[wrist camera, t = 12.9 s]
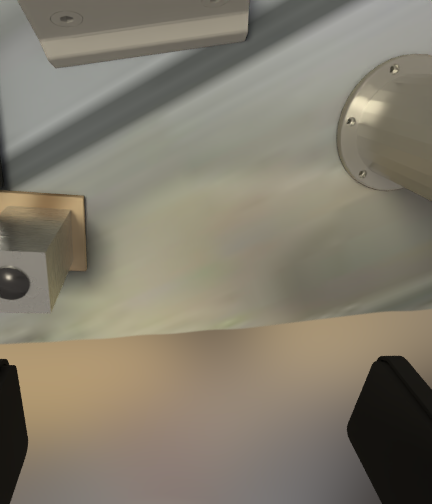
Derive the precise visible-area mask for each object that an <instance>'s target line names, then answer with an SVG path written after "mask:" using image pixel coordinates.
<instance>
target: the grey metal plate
mask: <svg viewBox="0 0 432 504" xmlns="http://www.w3.org/2000/svg"><path fill="white" fill-rule="evenodd" d="M3 186H4V181H3V173H2V166H1V159H0V188H1V187H3Z"/></svg>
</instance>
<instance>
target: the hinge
mask: <svg viewBox="0 0 432 504" xmlns="http://www.w3.org/2000/svg"><path fill="white" fill-rule="evenodd" d="M18 2H19V4H20V6H21V8H22V10H23V12H24V13H25V15H26V17H27V19H28V21H29V23H30V24H31V26H32V28H33V30H34V32H35V33H36V35H37V37H38V39H39V41H40V43H41V45H42V47H43V50H44V52H45V54H46V56H47V58H48V60H49V62H50V63H51V64H52V65H53V66H54V67H55V68H61V67H68V66H75V65H82V64H89V63H96V62H103V61H110V60H117V59H124V58H131V57H138V56H145V55H152V54H159V53H166V52H173V51H180V50H187V49H194V48H201V47H208V46H215V45H222V44H229V43H236V42H243V41H245V39H246V36H247V33H248V13H249V2H250V0H18Z"/></svg>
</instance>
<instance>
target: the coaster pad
mask: <svg viewBox="0 0 432 504" xmlns="http://www.w3.org/2000/svg"><path fill="white" fill-rule="evenodd" d="M7 206H22V207H38V208H54V209H69V210H71V224H72V242H73V262H72V265H71V267H70V270H69V271H86V269H87V258H86V233H85V208H84V196H79V195H64V194H50V193H35V192H21V191H6V190H0V213H1V212H2V211H3V210H4V209H5V208H6V207H7Z"/></svg>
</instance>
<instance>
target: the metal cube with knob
mask: <svg viewBox="0 0 432 504" xmlns="http://www.w3.org/2000/svg"><path fill="white" fill-rule="evenodd" d="M72 262H73V242H72V224H71V210H69V209H54V208H38V207H22V206H7V207H6V208H5V209H4V210H3V211H2V212H1V213H0V312H5V313H51V312H52V309H53V307H54V305H55V302H56V300H57V298H58V295H59V293H60V291H61V288H62V286H63V284H64V281H65V279H66V277H67V274H68V272H69V270H70V267H71V265H72Z"/></svg>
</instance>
